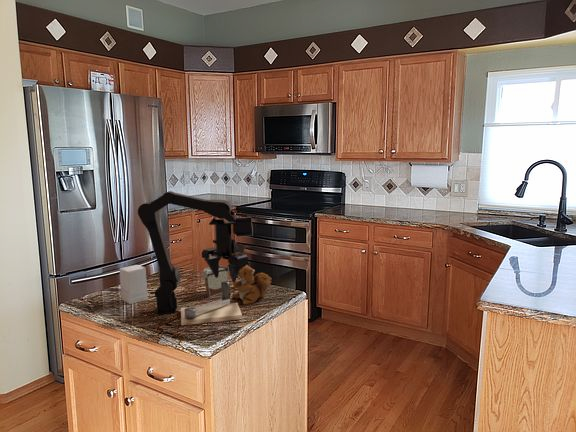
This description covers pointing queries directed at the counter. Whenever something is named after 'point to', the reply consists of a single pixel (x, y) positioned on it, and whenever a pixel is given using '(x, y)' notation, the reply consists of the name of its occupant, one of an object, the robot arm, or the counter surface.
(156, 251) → the robot arm
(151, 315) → the counter surface
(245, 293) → the stuffed squirrel
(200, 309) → the lever
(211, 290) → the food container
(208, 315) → the base board
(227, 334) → the counter surface
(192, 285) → the counter surface
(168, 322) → the counter surface
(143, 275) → the supplement box
